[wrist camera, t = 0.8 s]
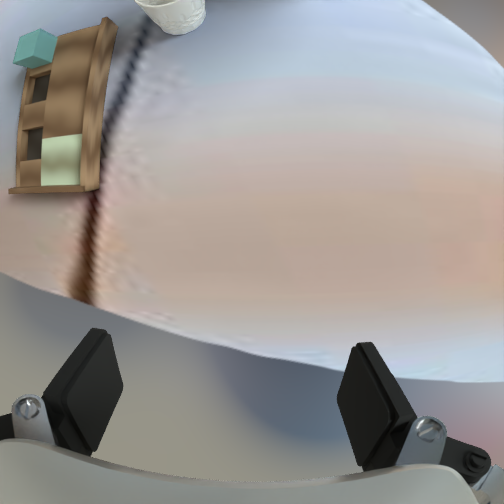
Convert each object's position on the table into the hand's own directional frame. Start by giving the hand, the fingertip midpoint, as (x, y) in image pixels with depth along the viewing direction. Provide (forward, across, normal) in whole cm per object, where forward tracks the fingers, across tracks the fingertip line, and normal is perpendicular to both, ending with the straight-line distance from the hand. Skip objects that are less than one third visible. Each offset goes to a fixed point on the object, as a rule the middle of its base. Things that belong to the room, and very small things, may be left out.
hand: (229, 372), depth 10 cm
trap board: (+29, +28, -17) cm, 44 cm away
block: (+27, +32, -26) cm, 49 cm away
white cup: (+29, +10, -29) cm, 42 cm away
